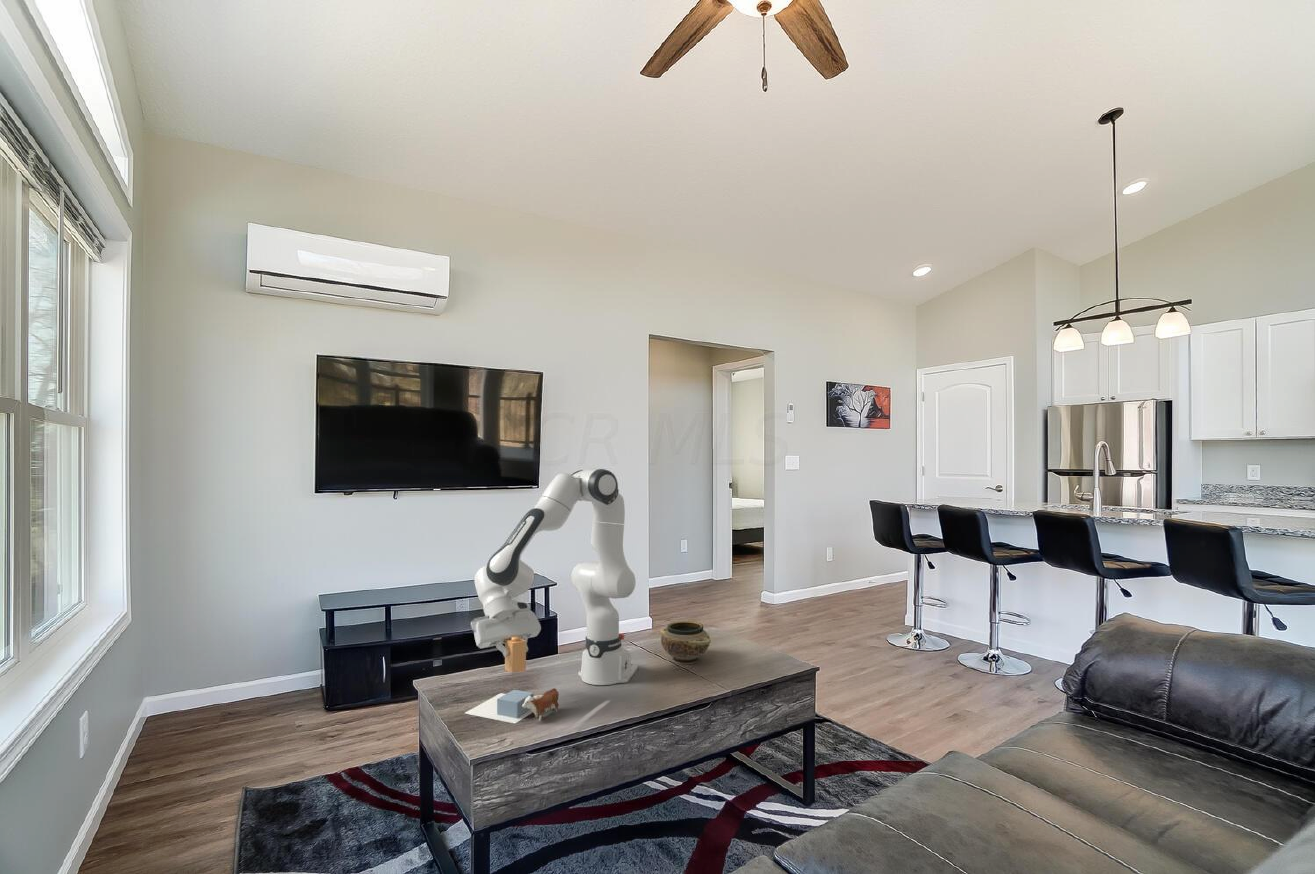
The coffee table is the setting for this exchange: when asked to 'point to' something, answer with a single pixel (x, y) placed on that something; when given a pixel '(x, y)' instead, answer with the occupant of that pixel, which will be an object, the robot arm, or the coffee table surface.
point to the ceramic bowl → (685, 641)
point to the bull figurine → (542, 702)
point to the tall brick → (515, 655)
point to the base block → (513, 704)
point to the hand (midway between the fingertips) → (516, 653)
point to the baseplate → (493, 711)
